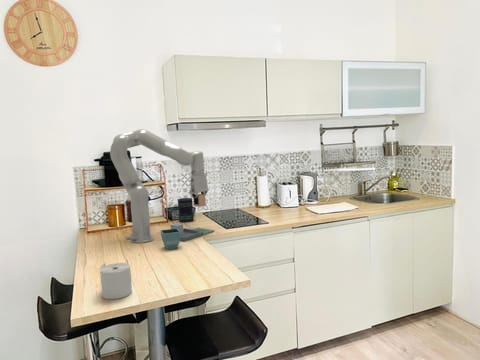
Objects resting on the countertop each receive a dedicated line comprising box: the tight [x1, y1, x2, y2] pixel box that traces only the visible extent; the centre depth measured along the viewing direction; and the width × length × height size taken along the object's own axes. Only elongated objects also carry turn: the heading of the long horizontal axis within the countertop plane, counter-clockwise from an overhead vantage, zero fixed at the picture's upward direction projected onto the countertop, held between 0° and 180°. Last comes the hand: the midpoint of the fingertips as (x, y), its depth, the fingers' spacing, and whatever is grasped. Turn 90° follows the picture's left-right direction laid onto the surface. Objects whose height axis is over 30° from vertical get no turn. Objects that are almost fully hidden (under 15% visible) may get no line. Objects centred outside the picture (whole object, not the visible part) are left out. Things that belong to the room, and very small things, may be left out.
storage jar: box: [177, 197, 194, 224], centre depth 259 cm, size 10×10×15 cm
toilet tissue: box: [99, 262, 133, 300], centre depth 143 cm, size 11×12×10 cm
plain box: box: [170, 222, 184, 236], centre depth 220 cm, size 5×5×6 cm
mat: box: [191, 227, 215, 236], centre depth 230 cm, size 8×14×1 cm, turn 48°
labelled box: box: [192, 193, 206, 208], centre depth 227 cm, size 5×5×7 cm
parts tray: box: [180, 227, 204, 243], centre depth 220 cm, size 14×16×2 cm
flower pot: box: [160, 228, 181, 250], centre depth 199 cm, size 9×9×9 cm
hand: (199, 203), depth 228 cm, fingers closed on labelled box, 5 cm apart
